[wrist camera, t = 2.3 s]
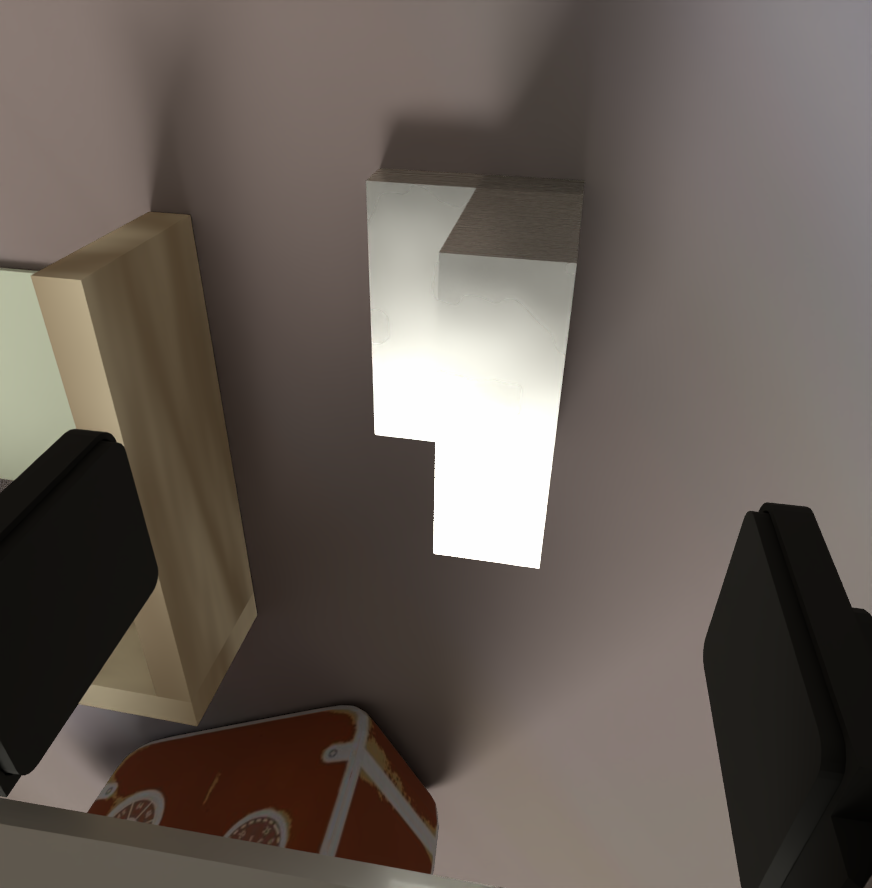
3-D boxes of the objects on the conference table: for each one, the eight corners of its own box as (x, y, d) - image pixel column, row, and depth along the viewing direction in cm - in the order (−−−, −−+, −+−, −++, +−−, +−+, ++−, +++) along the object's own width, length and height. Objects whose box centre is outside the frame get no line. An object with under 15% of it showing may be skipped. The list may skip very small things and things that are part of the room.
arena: (190, 214, 20) (81, 280, 16) (257, 614, 28) (197, 726, 24) (-196, 186, 22) (-385, 237, 17) (-26, 569, 30) (-126, 665, 26)
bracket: (584, 179, 17) (577, 263, 13) (554, 428, 21) (539, 568, 16) (380, 167, 18) (297, 241, 13) (387, 410, 22) (324, 538, 17)
